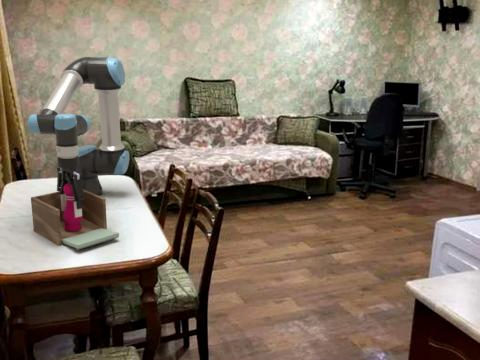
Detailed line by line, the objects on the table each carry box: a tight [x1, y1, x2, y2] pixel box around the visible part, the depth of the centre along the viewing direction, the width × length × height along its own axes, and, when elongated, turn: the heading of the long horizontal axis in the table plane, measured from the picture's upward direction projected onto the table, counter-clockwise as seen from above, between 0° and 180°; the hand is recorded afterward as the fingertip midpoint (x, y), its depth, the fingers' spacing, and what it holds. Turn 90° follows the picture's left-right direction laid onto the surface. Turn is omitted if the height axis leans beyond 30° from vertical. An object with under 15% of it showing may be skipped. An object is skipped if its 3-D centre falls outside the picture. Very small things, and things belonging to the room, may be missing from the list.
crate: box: [30, 189, 108, 247], centre depth 189 cm, size 20×20×14 cm
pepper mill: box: [63, 183, 82, 231], centre depth 187 cm, size 7×7×20 cm
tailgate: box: [62, 228, 120, 251], centre depth 181 cm, size 17×2×12 cm
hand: (71, 213), depth 187 cm, fingers open, 9 cm apart
